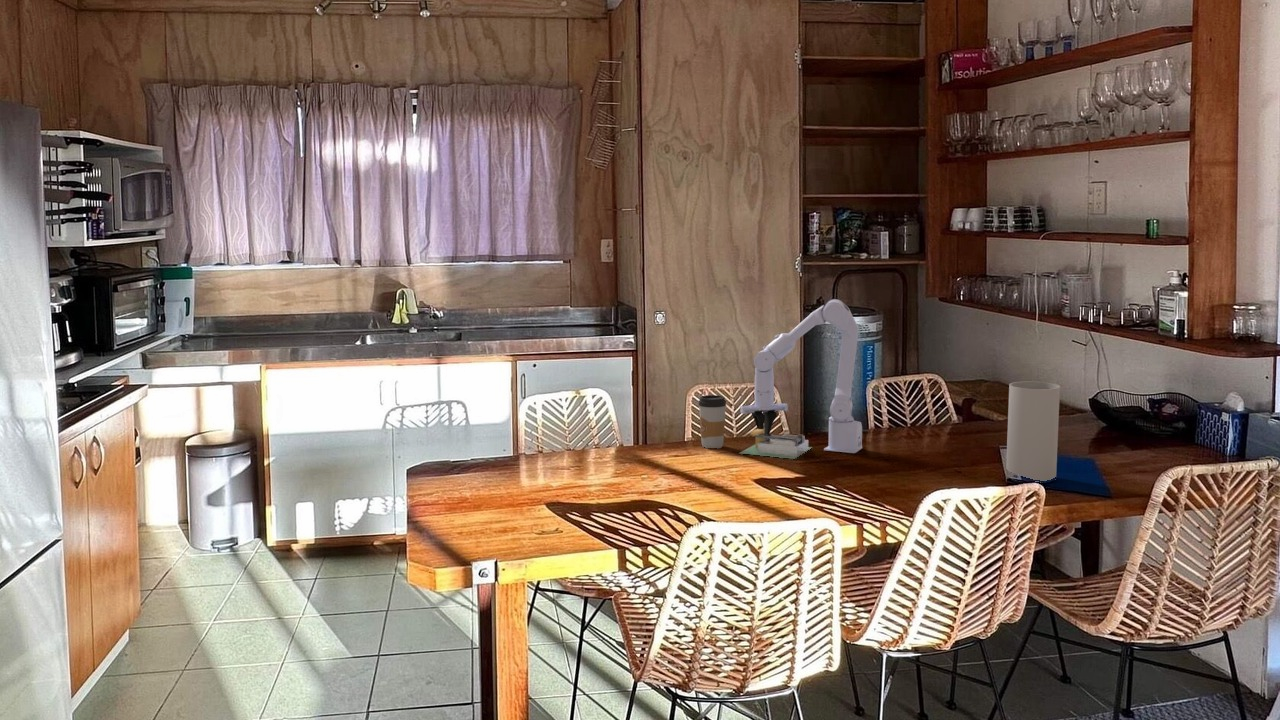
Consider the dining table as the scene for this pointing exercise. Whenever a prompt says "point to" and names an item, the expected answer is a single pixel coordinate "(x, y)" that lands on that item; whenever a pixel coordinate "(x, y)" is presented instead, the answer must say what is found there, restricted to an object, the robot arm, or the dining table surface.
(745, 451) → the pcb mat
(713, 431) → the coffee cup
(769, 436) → the strap
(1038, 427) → the cylinder vase
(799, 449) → the heatsink block
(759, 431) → the latch
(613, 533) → the dining table surface
